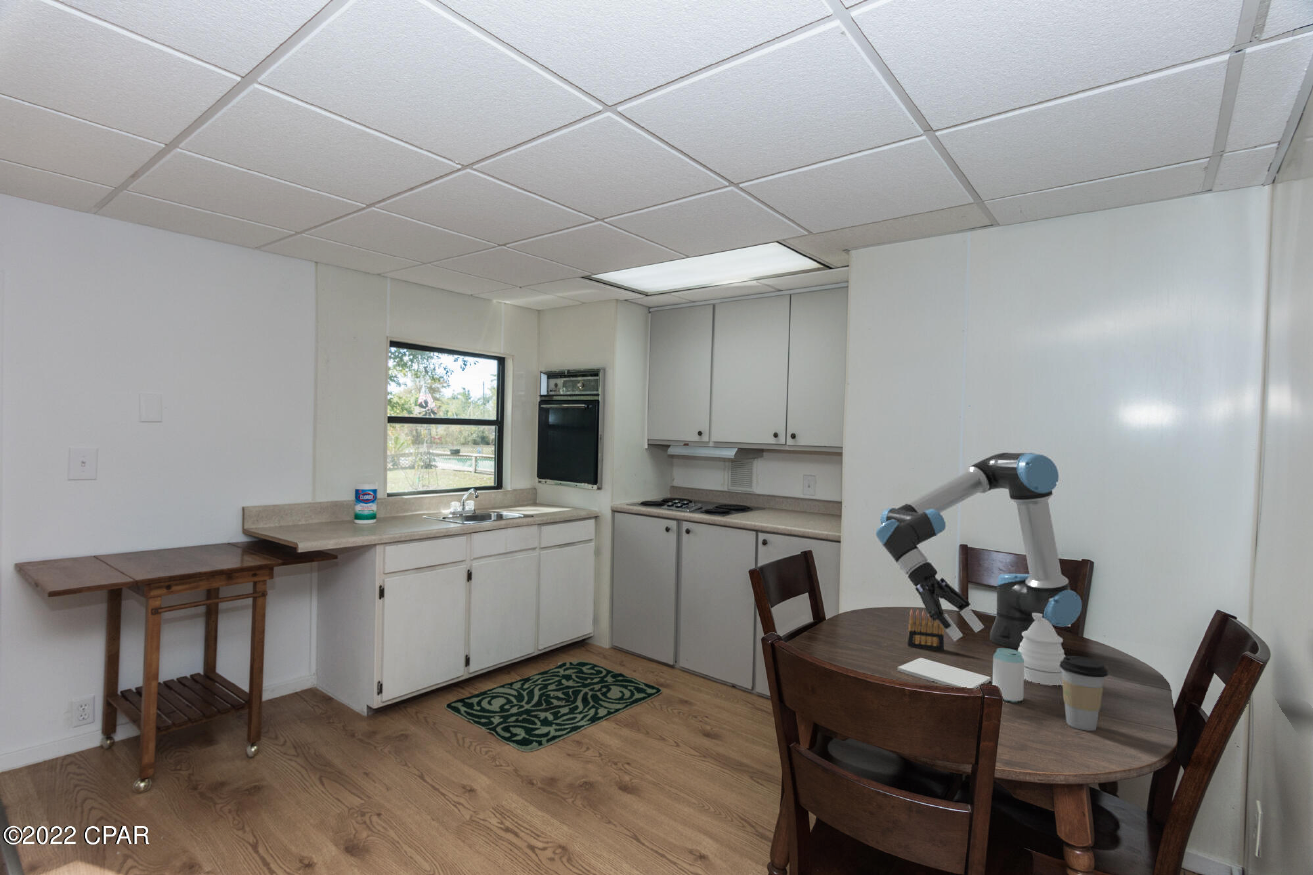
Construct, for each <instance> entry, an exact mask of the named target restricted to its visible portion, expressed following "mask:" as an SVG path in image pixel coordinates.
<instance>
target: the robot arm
mask: <svg viewBox="0 0 1313 875" xmlns="http://www.w3.org/2000/svg"><path fill="white" fill-rule="evenodd" d="M1059 478H1060V477H1059V470H1058V468H1057V465H1056V464H1055V463H1054V461H1053V460H1052V459H1051V458H1049V457H1048V456H1046V455H1043V454H1039V453H1035V452H1034V453H1033V452H1000V453H996V454H994V455H991V456H988V457H986V458H983V459H982V460H979V461H977V462H975V463H973V464H972V465H970V466H968V467H967V468H966V469H965V471H964V473H961V474H960V475H957V476H956V477H954V478H953V479H951V480H948V481H947V482H945V483H942V484H940V485H939V486H937V487H935V488H933V489H932V490H929V491H928V492H926V493H924V494H922V495H920V496H918V497H916V498H915V499H912V500H911V501H909V502H907V503H905V504H903V505H901V506H899V507H897V508H895V507H890V508H886V509H884V510H883V512H881V514H880V526H879V527H878V528H877V530H876V531H875V535H876V538H878V541H879V542H880V543H881V545H882V547H884V549H885V550H886V551H887V553H889V555H890V556H891V557H892V558H893V560H894V561H895V562H896V564H897V565H898V567H899V569H900V570H901V571H902V572H903V573H904V574H905V575H907V578H908V579H909V581H910V582H911V583H912V584H913V586H914V589H915V591H916V592H917V594H919V597H920V598H921V602H922V604H923V605H924V607H925V611H926V613H927V615H928V614H929V616H930V618H932V622H933V621H936V620H937V621H938V623H939V622H940V623H941V625H942V626H943V627H944V631H946V633H947V634H948V635H949V637H950V638H951V639H952V640H953V642H956V641H957V640H959V639H960V638H961V637H962V638H963V633H962V632H961V631H960V630H959V628H958V627H957V625H956V624H955V623H954V622H953V620H952V619H951V618H950V616H948V613H944V610H943V607H942V602H941V600H942V599H943V600H945V601H946V602H948V603H949V604H951V605H952V606H953V607H955V608H956V609H958V610H959V614H960V616H962V618H963V619H964V620H965V621H966V622H967V623H968V625H969V626H970V627H971V629H972V630H973V631H974V632H975V633H978V632H979V631H981V630H982V629H984V628H985V626H984V625H983V624H982V622H981V620H979V618H978V617H977V616H976V615H975V614H974V612H973V611H972V610H971V609H970V607H969V606H971V603H970V601H969V600H968V599H966V598H965V597H964V596H963V595H962V594H961V593H959V592H958V591H957V590H956V589H955V588H954V587H953V586H952V585H951V584H950V583H948V582H947V581H946V579H945V578H944V577H941V578H940V579H938V578H936V575H937V574H938V571H937V569H936V568H935V567H934V565H933V564H932V563H931V562H930V561H928V560H929V559H928V558H927V556H926V555H925V554H924V553H923V551H922V550H921V549H920V548H919V547H918V546H919V545H920V544H922V543H924V542H926V541H928V540H930V539H932V538H933V537H937V536H938V535H939V534H940V533H942V532H944V531H945V530H946V521H945V518H944V516H943V515H942V514H941V513H943V512H945V511H947V510H949V509H950V508H953V507H954V506H956V505H957V504H960V503H962V502H963V501H965V500H967V499H969V498H971V497H973V496H975V495H977V494H978V493H979V494H985V493H987V492H989V491H992V490H998V489H999V490H1000V489H1005V490H1008V495H1009V499H1010V500H1011V501H1013V502H1014V503H1015V504H1016V509H1017V513H1018V514H1017V515H1018V519H1019V525H1020V531H1021V536H1022V541H1023V545H1024V551H1025V552H1024V553H1025V555H1026V556H1025V557H1026V563H1027V567H1028V573H1001V574H999V575H998V577H997V584H996V617H995V620H994V623H993V624H992V627H991V629H990V631H989V632H990V633H989V640H990V641H991V642H992V643H994V644H996V645H999V646H1002V647H1004V648H1005V647H1006V648H1009V649H1014V650H1015V649H1016V650H1018V648H1019V647H1020V643H1021V642H1022V640H1023V638H1024V637H1023V636H1022V632H1024V631H1027V630H1028V629H1029V627H1030V626H1031V624H1032V623H1033V622H1034V621H1035V620H1034V619H1033V617H1032V613H1039V614H1042V618H1044V619H1046V620H1047V621H1049V622H1050V624H1051V625H1052V626H1056V627H1061V628H1063V627H1068V626H1070V625H1071V624H1073V623H1074V622H1076V621H1077V619H1078V617H1079V616H1080V615H1081V612H1082V606H1083V604H1082V600H1081V597H1080V595H1079V594H1078V593H1077V592H1075V591H1074V590H1071V588H1070V582H1069V579H1068V578H1067V577H1066V576H1064V575H1063V574H1062V570H1061V564H1060V559H1059V554H1058V549H1057V542H1056V538H1055V531H1054V525H1053V521H1052V515H1051V510H1050V505H1049V504H1050V503H1049V499H1050V498H1051V497H1052V496H1053V494H1054V493H1053V490H1054V489H1056V487H1057V483H1058V481H1059ZM940 599H941V600H940Z"/></svg>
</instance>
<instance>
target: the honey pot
mask: <svg viewBox="0 0 1313 875" xmlns="http://www.w3.org/2000/svg"><path fill="white" fill-rule="evenodd" d="M1032 617H1033V619H1034V620H1035V621H1034V622H1033V623H1032V624H1031V626H1030V627H1029V629H1028V630H1027V631H1024V632H1022V636H1023V637H1024V638H1023V640H1022V642H1021V643H1020V647H1019V648H1018V649H1017V651H1019V652H1020V653H1021V654H1022V657H1023V659H1024V680H1025V679H1026V680H1025V681H1027V680H1028V681H1027V682H1031V681H1032V682H1031V683H1035V684H1038V683H1040V684H1039V685H1045V686H1052V685H1057V686H1056V687H1059V686H1058V685H1061V686H1063V685H1062V677H1063V676H1062V668H1061V667H1060V666H1059V665H1060V662H1061V661H1063V658H1064V657H1065V656H1066V655H1065V650H1064V649H1063V647H1062V643H1063V641H1064V639H1063V637H1061V636H1059V635H1058V633H1057V632H1056V630H1055V628H1054V625H1051V624H1050V622H1049V621H1047V620H1046V619H1044V618H1042V614H1039V613H1032Z"/></svg>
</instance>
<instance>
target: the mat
mask: <svg viewBox="0 0 1313 875" xmlns="http://www.w3.org/2000/svg"><path fill="white" fill-rule="evenodd" d="M897 672H900V673H903V674H906V675H909V676H913V677H916V678H920V679H922V680H925V681H930V682H932V681H935V682H934V683H936V682H937V683H936V684H939V685H943V686H945V685H951V686H956V687H967V688H975V689H976V688H977V687H979V685H981V684H983V683H986V684H988V683H990V682H992V677H990V676H987V675H984V674H981V673H977V672H973V671H969V670H966V669H963V668H959V667H955V666H951V665H947V664H944V663H940V662H937V661H933V660H930V659H926V658H923V657H919V658H916V659H914V660H912V661H909V662H906V663H905V664H902V665H899V666H898V667H897ZM989 681H990V682H989ZM979 688H980V687H979ZM976 690H977V689H976Z"/></svg>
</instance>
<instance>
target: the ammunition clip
mask: <svg viewBox="0 0 1313 875" xmlns="http://www.w3.org/2000/svg"><path fill="white" fill-rule="evenodd" d="M914 613H915V612H914V609H913V608H911V609H910V612H909V620H908V635H907V643H906V644H907V647H908V646H909V648H917V649H926V650H933V651H943V652H944V651H945V643H944V642H945V640H944V639H945V634H944V632H945V629H944V627H943V626H942V625H941V623H940V622H939V621H938V619H937V620H936V621H933V620H932V618H930V616H929V614H928V613H927V615H926V610H925V609H923V611H922V612H921V613H922V614H921V616H920V610H919V609H917V610H916V613H915V615H914ZM926 616H927V617H926ZM914 617H915V618H914ZM920 617H921V618H920ZM926 618H927V619H926Z"/></svg>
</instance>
